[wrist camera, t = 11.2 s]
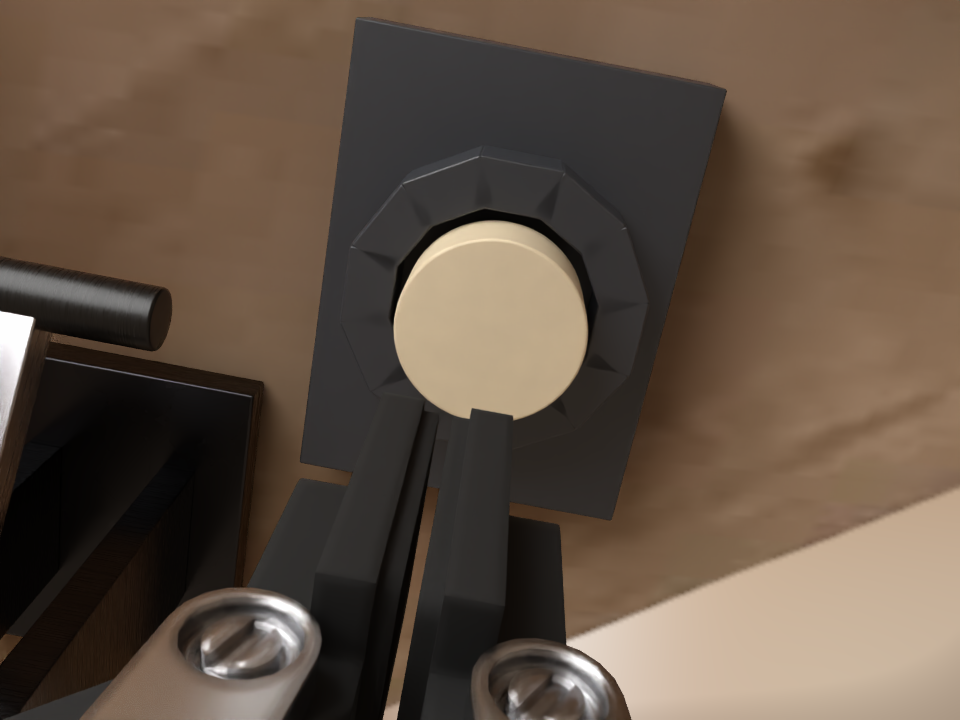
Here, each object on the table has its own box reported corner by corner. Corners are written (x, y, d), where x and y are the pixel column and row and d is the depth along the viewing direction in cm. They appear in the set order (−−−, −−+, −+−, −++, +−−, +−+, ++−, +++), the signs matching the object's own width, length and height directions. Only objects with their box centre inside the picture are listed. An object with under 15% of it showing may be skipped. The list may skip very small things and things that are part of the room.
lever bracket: (-1, 331, 27) (-411, 573, 15) (264, 380, 28) (61, 659, 16) (0, 608, 31) (-334, 981, 19) (235, 651, 31) (52, 1048, 19)
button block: (370, 17, 24) (341, 16, 20) (710, 83, 24) (744, 95, 20) (316, 430, 28) (283, 494, 24) (605, 485, 28) (617, 556, 24)
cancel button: (419, 203, 22) (409, 221, 20) (601, 238, 22) (608, 259, 20) (392, 373, 23) (380, 405, 21) (562, 405, 23) (565, 439, 22)
